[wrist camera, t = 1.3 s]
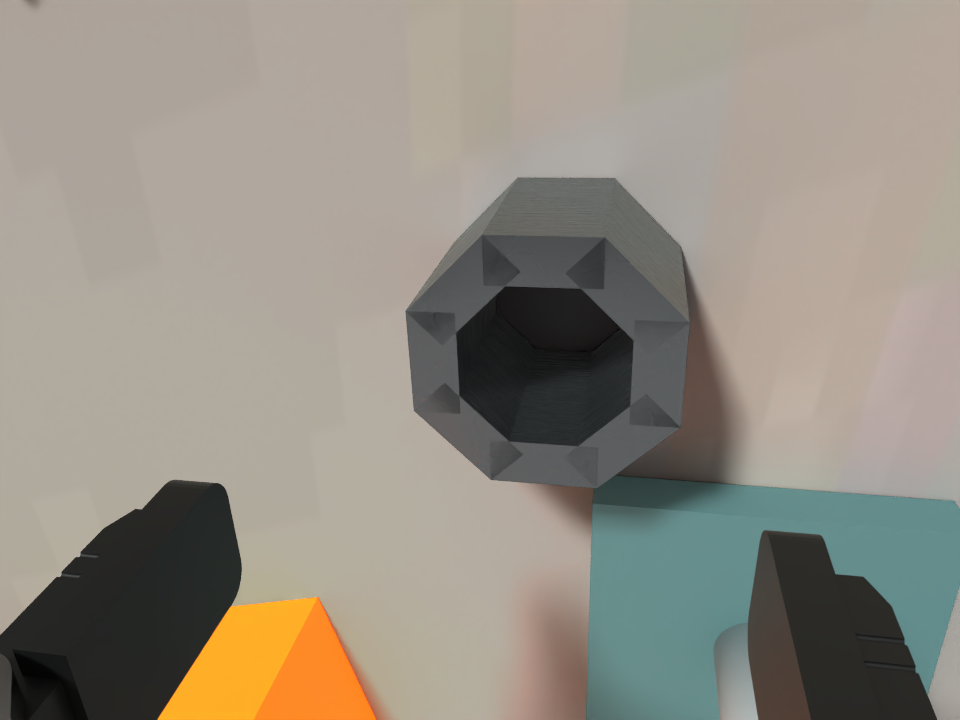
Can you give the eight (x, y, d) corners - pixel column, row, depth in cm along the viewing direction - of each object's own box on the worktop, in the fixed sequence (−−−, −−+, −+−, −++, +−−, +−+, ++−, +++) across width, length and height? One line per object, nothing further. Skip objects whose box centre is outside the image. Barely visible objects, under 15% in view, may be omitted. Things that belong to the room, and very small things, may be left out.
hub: (686, 178, 20) (697, 239, 15) (669, 391, 22) (675, 494, 18) (451, 177, 21) (398, 233, 16) (462, 379, 23) (419, 474, 19)
